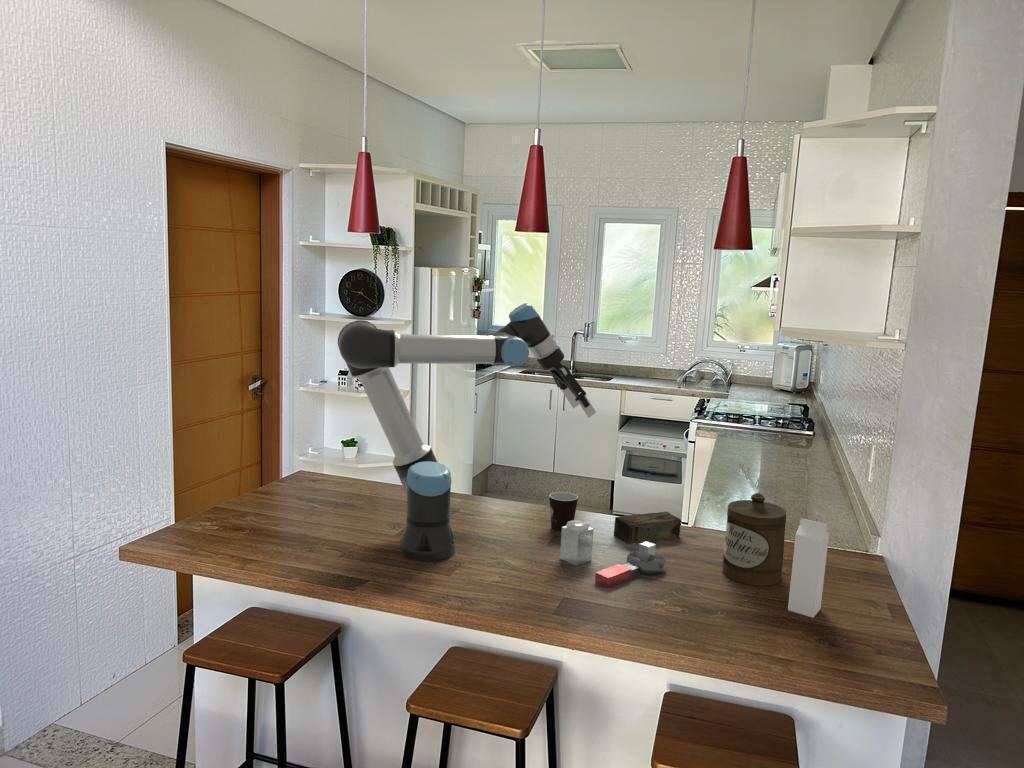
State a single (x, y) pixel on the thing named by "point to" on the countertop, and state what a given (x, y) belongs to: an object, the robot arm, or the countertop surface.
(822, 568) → the milk
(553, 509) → the coffee mug
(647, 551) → the ratchet
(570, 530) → the grey faceted jar
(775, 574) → the wooden container
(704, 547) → the countertop surface
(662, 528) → the beverage carton
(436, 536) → the robot arm
